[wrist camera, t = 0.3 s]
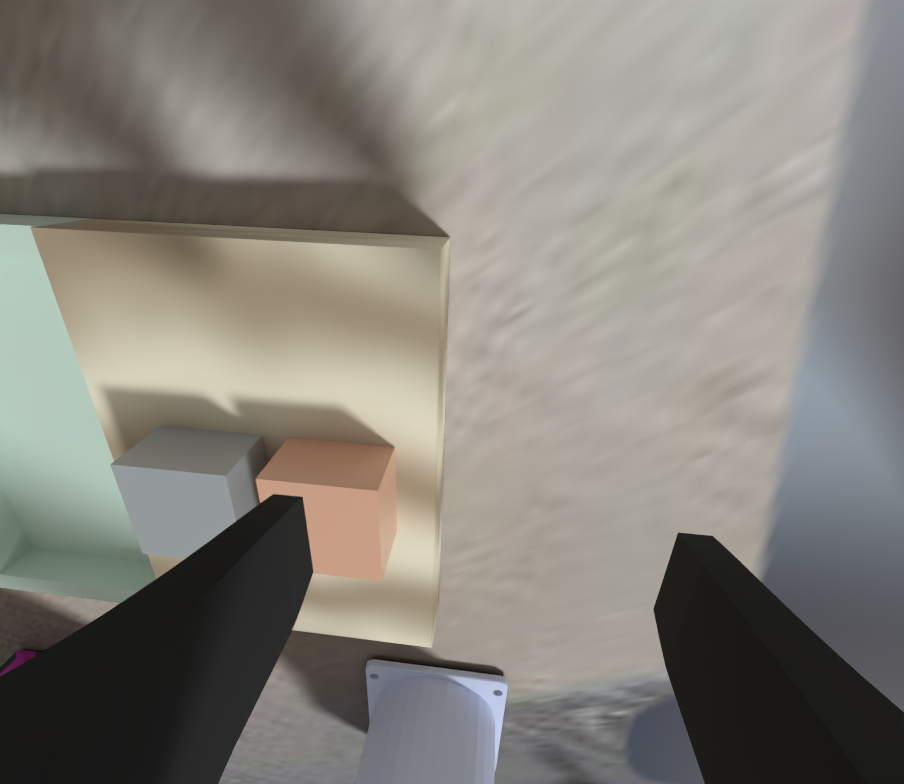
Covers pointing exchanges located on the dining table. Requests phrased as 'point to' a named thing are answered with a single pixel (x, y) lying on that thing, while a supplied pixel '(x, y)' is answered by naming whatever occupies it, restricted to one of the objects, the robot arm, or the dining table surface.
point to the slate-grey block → (188, 486)
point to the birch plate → (275, 367)
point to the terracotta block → (339, 502)
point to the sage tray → (54, 446)
